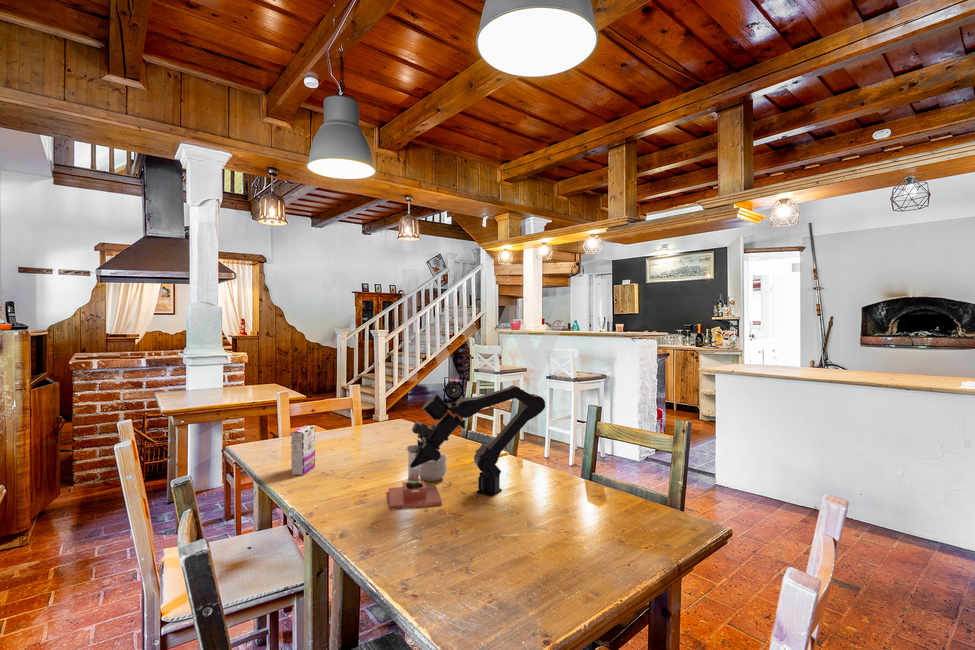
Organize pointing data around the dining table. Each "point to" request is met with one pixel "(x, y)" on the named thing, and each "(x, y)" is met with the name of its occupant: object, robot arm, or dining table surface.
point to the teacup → (434, 469)
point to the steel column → (415, 472)
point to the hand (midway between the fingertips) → (410, 464)
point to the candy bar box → (303, 450)
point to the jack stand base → (414, 496)
